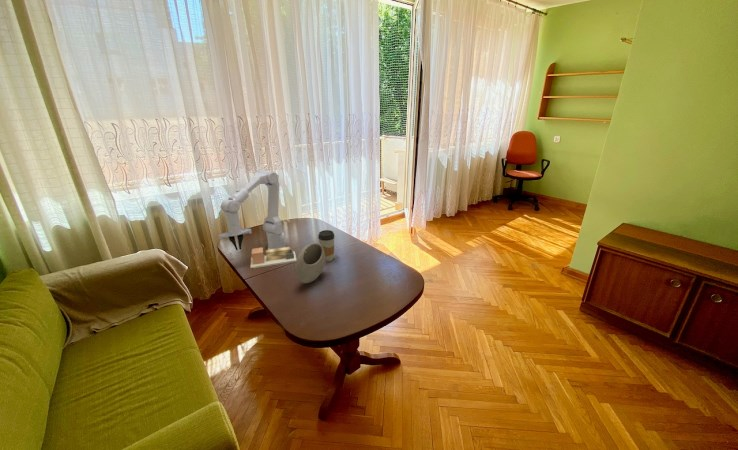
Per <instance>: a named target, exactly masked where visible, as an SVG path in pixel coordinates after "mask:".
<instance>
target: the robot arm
mask: <svg viewBox="0 0 738 450" xmlns="http://www.w3.org/2000/svg"><path fill="white" fill-rule="evenodd" d="M263 184H264V185H265V187H267V189H268V195H267V216H266V217H265V218H264V219H263V220H264V221H263V224H262V229H263V231H264V232H265V234H266V238H267V244H268V245H267V250H269V249H276V248H284V247H287V246H286V243H287V242H286V240H285V232H284V231H283V229H284V228H283V223H282V219H280V217H279V203H280V202H279V201H280V200H279V199H280V183H279V174H278V173H277V172H276V171H273V170H266V169H265V170H264V169H259V170H257V171H256V172H255V173H254V176H253V177H252V178H251V179H250V180H249V181H248V182H247V183H246V185H244V187H243V188H241V187H240V188H236V189H235V192H234V193H232V194H231V195H230V196H228V198H225V199H224V200H222V201H221V203H220V209H221V210H222V211H223V214H224V217H225V221H226V222H225V223H226V227H227V232H226V231H225V232H223V233H220V234H218V238H219V240H223V239H226V238H227V239H229V241H230V243H232V245H233V246H234V249H235V250H236V251H238V248H239V250H242V244H243V240H244V235H247V234H252V229H251V228H243V229H242V227H241V221H240V216H239V210H240V207H241V205H242V204H243V203H245V201H246V200H247V199H248V198H249V196H250V195H249V194H250V193H251V192H252V191H254V189H256V188H257V187H258V186H260V185H263ZM235 237H237V242H236V238H235ZM237 243H238V246H237Z"/></svg>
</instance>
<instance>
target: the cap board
mask: <svg viewBox="0 0 738 450" xmlns="http://www.w3.org/2000/svg"><path fill="white" fill-rule="evenodd" d="M264 257H265V258H264V262H265V263H259V264H253V259H252V257H251V258H250V269H252V268H253V269H258V268H265V267H270V266H276V265H284V264H290V263H296V260H297V255H296V251H294V249H293V248H290V254H286V258H285V259H278V260H272V261H267V258H266V255H264Z"/></svg>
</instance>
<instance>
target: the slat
mask: <svg viewBox="0 0 738 450" xmlns="http://www.w3.org/2000/svg"><path fill="white" fill-rule="evenodd" d="M290 249H291V247H290V246H286V247H284V248H276V249H269V250H268V249H265V256H266V258H267V261H272V260H278V259H285V258H286V254H290Z"/></svg>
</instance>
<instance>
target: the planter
mask: <svg viewBox="0 0 738 450" xmlns="http://www.w3.org/2000/svg"><path fill="white" fill-rule="evenodd" d="M325 264H326V261H325V252H324V249H323V247H322V246H321V245H320V243H319V242H312V243H309V244H307V245H305V246H304V247H303V248H302V249H301V250H300V251H299V252H298V255H297V256H296V262H295V265H294V272H295V277H296V279H297V280H298V281H299V282H300V283H302V284H309V283H313V282H314V281H316V280H317V279H318V277H319V276H320V275H321V273H322V272H323V270H324V267H325Z"/></svg>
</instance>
